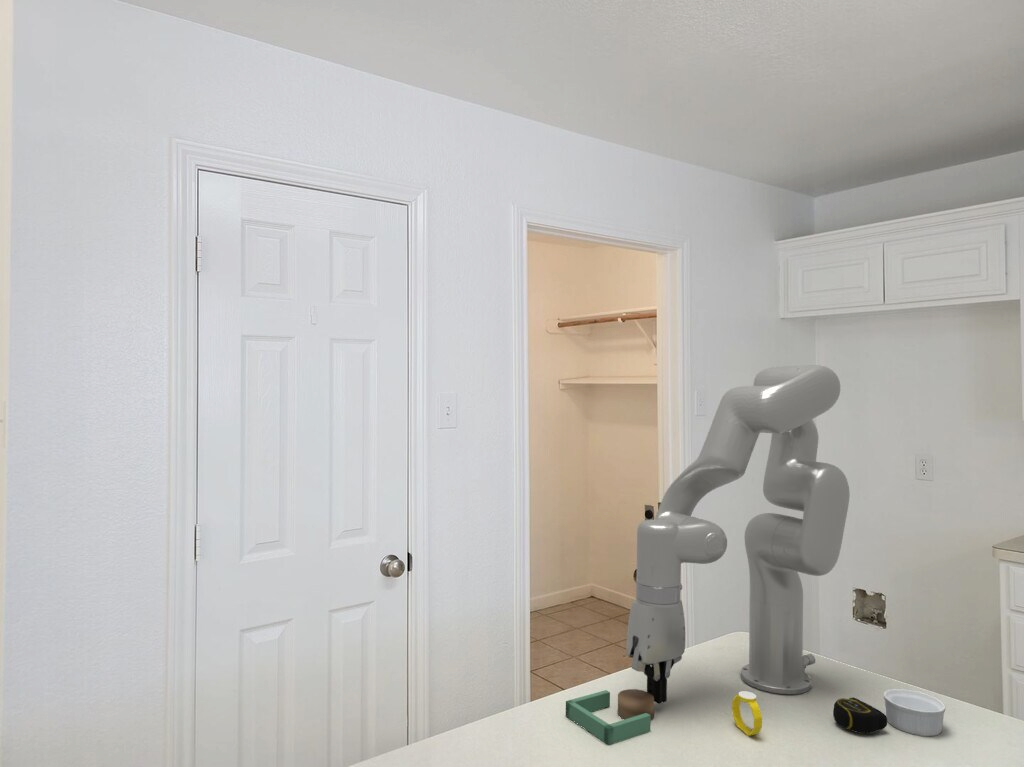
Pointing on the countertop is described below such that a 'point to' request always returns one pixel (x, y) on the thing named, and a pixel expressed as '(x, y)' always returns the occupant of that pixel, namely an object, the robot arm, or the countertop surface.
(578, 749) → the countertop surface
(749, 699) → the watch
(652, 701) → the puck
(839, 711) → the tape measure
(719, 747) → the countertop surface
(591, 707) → the green u-shaped frame
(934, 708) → the ramekin
